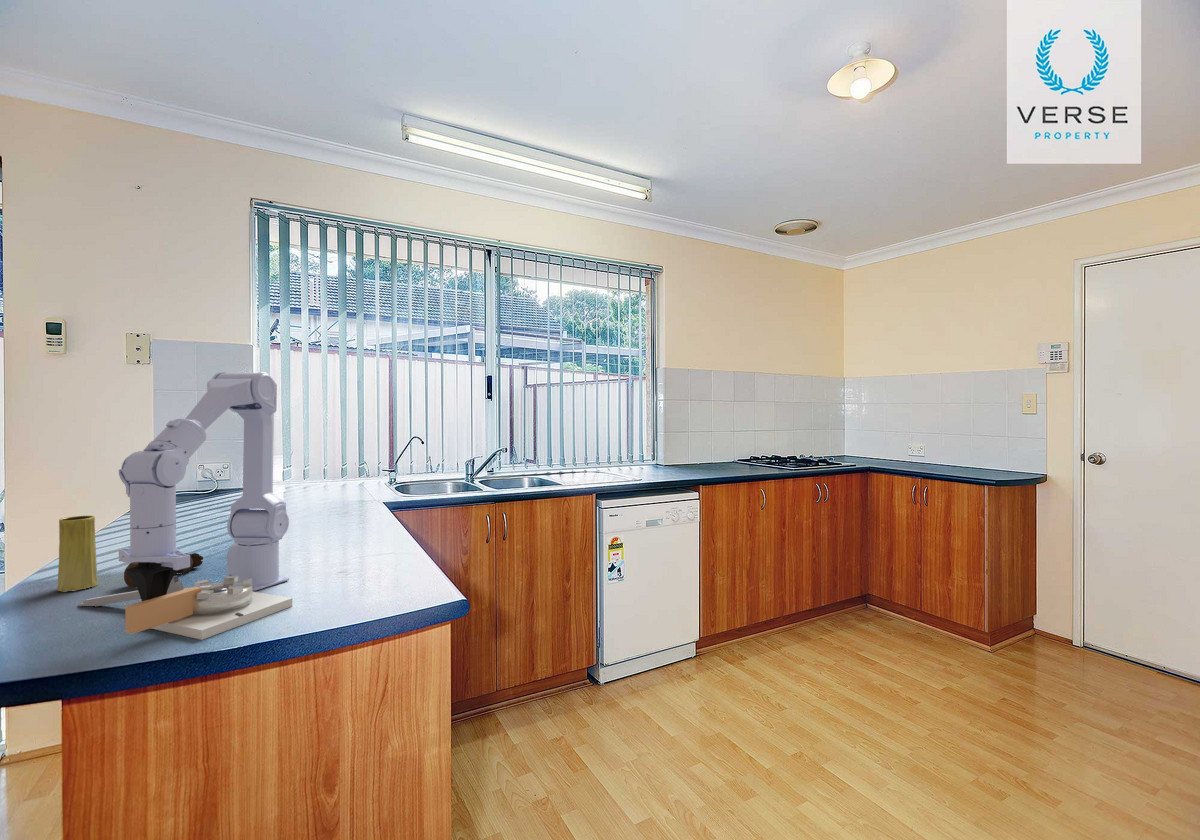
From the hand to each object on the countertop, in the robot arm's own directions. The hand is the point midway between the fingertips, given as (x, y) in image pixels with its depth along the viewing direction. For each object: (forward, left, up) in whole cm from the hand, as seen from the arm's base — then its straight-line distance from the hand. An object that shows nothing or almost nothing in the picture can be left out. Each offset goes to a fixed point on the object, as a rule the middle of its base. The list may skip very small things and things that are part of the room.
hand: (154, 609), depth 87 cm
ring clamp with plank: (+2, +5, -2) cm, 5 cm away
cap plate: (+2, +9, -4) cm, 10 cm away
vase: (-40, +9, -4) cm, 41 cm away
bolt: (-31, +21, -4) cm, 38 cm away
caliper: (-17, +6, -4) cm, 19 cm away
